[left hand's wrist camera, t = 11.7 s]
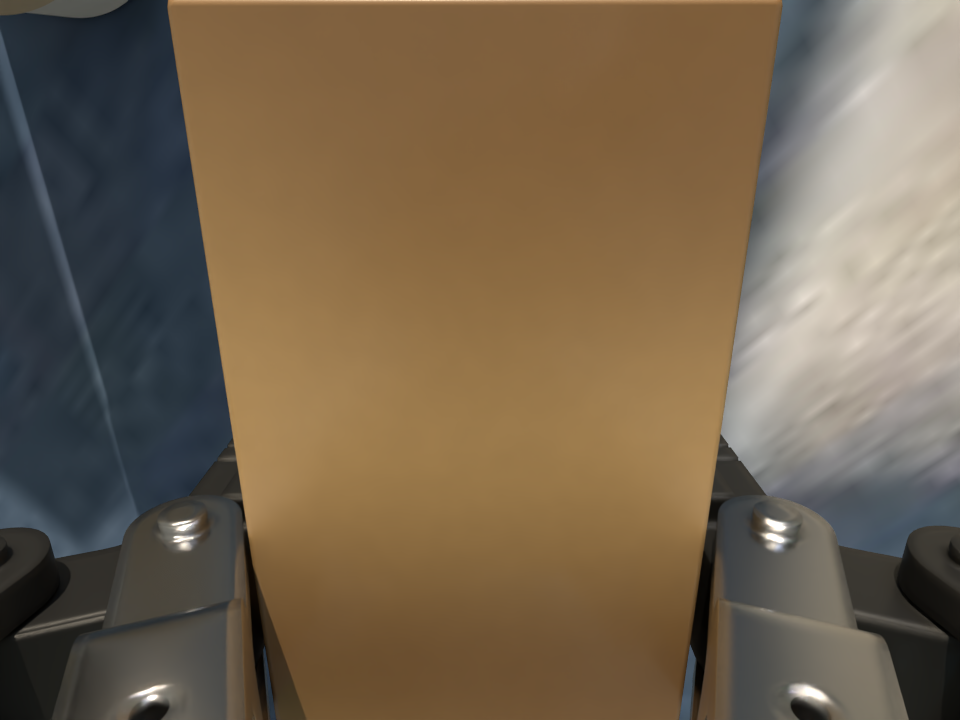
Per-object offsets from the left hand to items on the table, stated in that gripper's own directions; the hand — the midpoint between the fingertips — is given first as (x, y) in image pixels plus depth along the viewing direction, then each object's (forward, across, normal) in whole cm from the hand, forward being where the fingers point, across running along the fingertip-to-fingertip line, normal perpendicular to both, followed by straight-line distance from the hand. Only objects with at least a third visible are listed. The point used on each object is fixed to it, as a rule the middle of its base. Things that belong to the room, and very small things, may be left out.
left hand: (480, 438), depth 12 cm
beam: (+2, 0, -24) cm, 24 cm away
